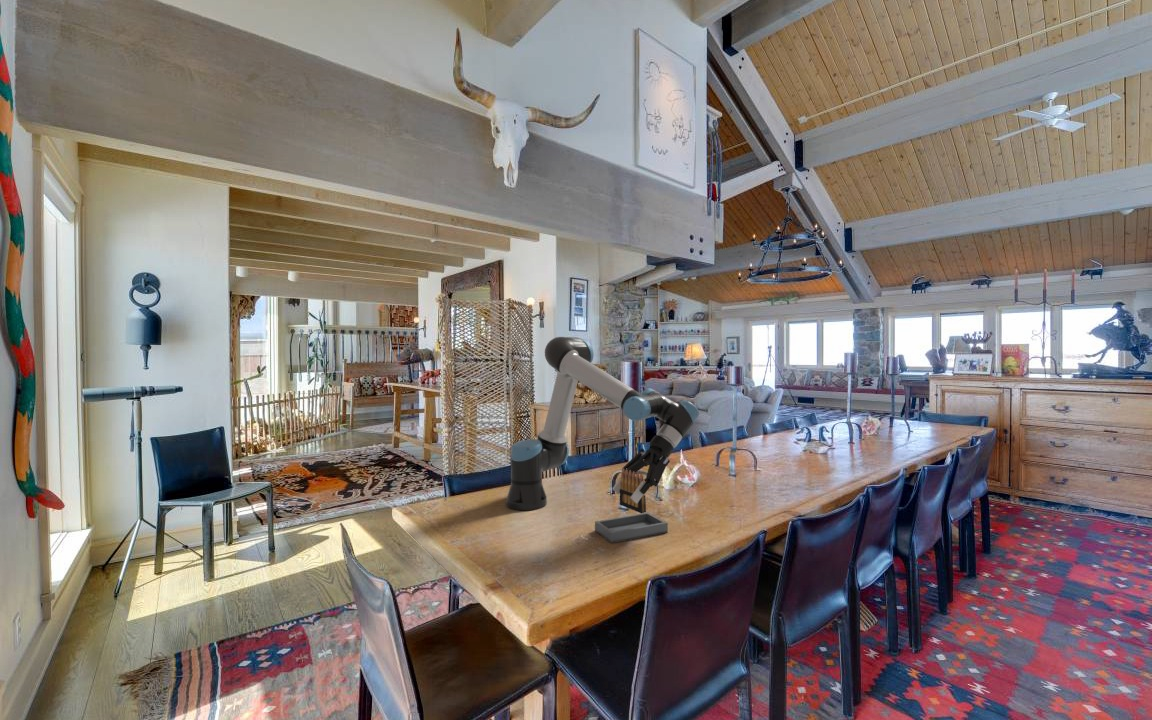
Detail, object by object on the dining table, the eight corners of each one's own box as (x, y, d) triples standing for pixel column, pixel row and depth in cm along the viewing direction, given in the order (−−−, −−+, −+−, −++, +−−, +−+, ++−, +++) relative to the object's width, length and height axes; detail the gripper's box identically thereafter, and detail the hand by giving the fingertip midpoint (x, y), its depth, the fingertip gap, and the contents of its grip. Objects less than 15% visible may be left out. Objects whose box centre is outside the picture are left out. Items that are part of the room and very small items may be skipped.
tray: (594, 530, 145) (594, 521, 145) (648, 521, 154) (647, 512, 154) (611, 543, 135) (611, 533, 135) (667, 532, 144) (667, 522, 144)
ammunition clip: (619, 504, 148) (618, 467, 148) (623, 503, 149) (623, 466, 149) (641, 513, 139) (641, 474, 139) (646, 512, 140) (645, 473, 140)
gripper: (694, 455, 140) (652, 514, 134) (652, 443, 161) (613, 493, 155) (680, 439, 138) (636, 498, 132) (639, 429, 159) (599, 479, 152)
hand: (624, 495), depth 143 cm, fingers closed on ammunition clip, 10 cm apart
